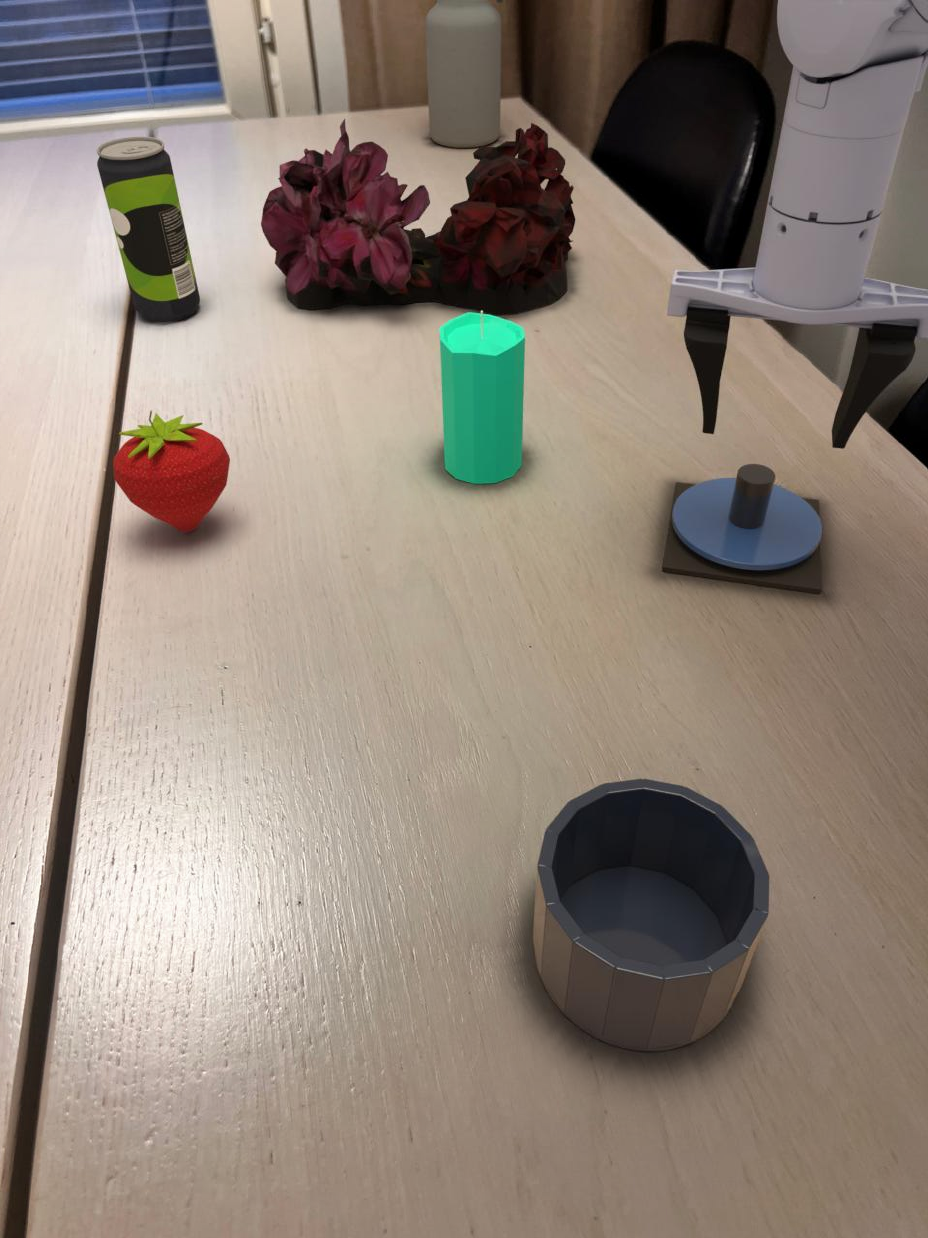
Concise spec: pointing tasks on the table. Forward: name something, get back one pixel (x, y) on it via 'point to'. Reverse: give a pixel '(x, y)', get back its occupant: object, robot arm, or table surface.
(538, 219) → the flower arrangement
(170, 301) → the beverage can
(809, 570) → the mat
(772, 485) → the lid
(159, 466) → the strawberry
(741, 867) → the pot
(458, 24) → the water bottle
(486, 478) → the candle
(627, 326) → the table surface
